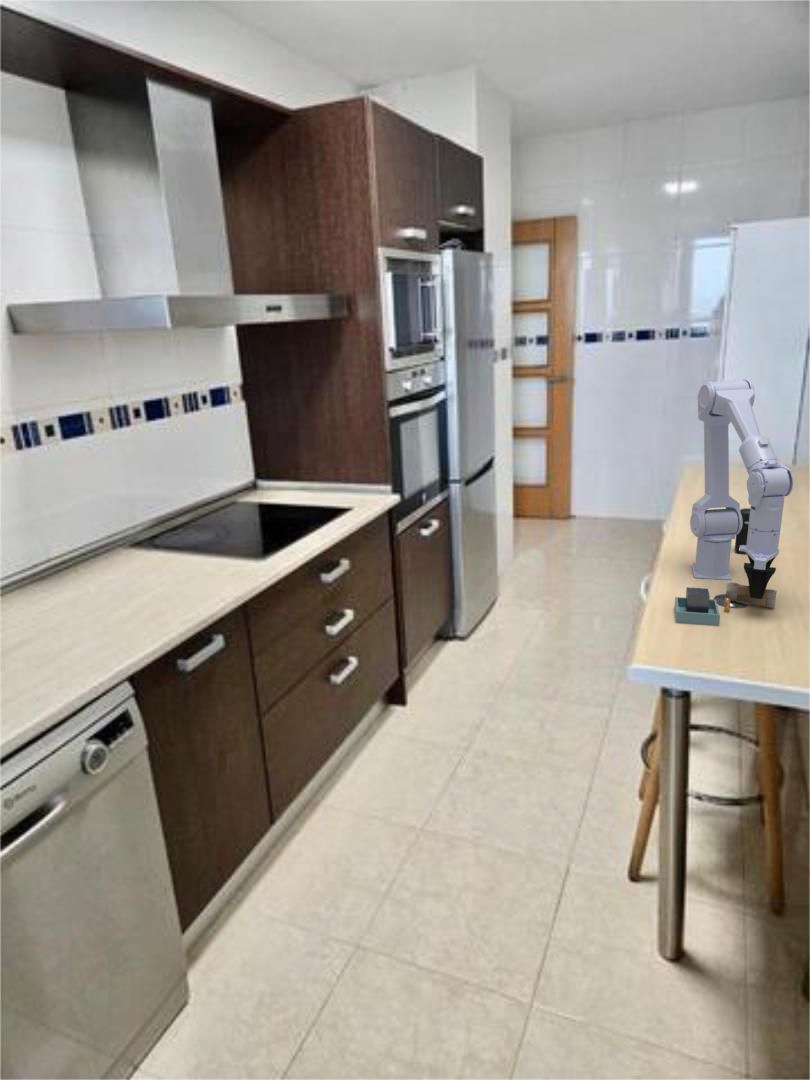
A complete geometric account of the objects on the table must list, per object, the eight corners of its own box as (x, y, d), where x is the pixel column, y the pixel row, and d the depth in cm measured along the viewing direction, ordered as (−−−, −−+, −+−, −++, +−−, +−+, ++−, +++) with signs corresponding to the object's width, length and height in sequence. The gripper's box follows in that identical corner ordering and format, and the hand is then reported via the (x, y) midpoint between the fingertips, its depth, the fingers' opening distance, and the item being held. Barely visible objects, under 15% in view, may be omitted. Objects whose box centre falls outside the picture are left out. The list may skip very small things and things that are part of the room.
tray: (674, 607, 145) (675, 596, 144) (715, 610, 143) (716, 599, 142) (676, 622, 138) (676, 611, 137) (718, 626, 136) (720, 615, 135)
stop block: (684, 610, 143) (686, 587, 141) (705, 611, 142) (707, 588, 140) (685, 617, 139) (687, 594, 138) (707, 619, 138) (709, 596, 136)
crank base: (711, 594, 150) (713, 581, 150) (747, 597, 148) (748, 584, 147) (716, 612, 142) (717, 598, 141) (754, 615, 140) (755, 601, 139)
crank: (724, 599, 146) (725, 585, 145) (727, 595, 148) (728, 581, 147) (773, 608, 140) (775, 593, 139) (775, 604, 142) (777, 590, 141)
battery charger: (733, 554, 173) (738, 510, 170) (733, 550, 177) (737, 506, 173) (765, 557, 171) (770, 512, 167) (764, 552, 174) (769, 508, 170)
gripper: (744, 516, 146) (737, 576, 150) (739, 536, 134) (733, 601, 138) (782, 519, 143) (774, 580, 147) (781, 540, 131) (772, 606, 135)
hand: (757, 591), depth 142 cm, fingers open, 7 cm apart
